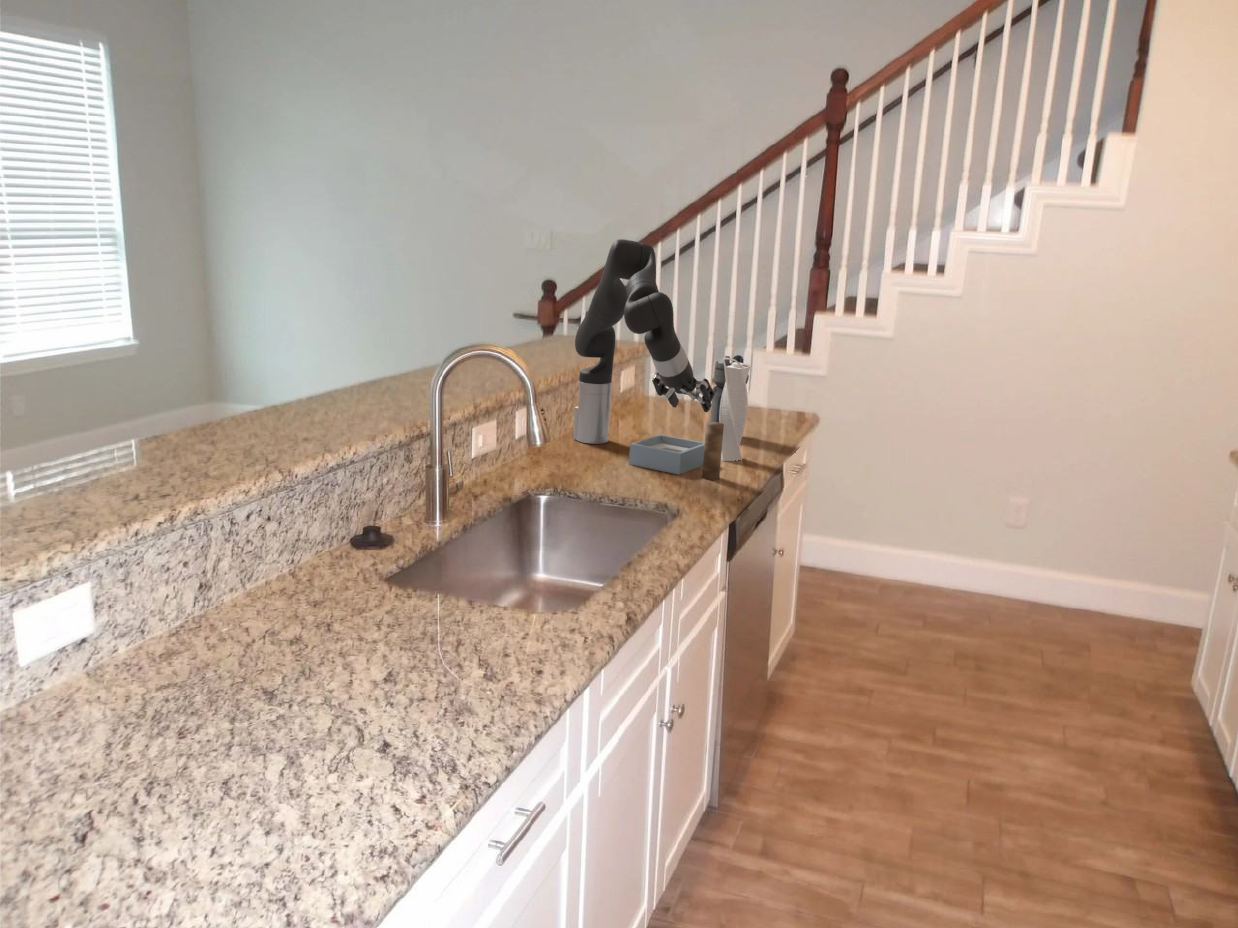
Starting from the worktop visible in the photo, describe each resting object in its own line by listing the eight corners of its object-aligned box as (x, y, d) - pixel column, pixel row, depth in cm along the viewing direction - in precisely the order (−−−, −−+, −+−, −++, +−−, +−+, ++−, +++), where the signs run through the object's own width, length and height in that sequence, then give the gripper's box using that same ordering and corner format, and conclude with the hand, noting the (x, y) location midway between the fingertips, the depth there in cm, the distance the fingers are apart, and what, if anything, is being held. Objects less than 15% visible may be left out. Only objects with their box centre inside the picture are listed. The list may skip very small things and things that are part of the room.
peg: (698, 477, 246) (703, 423, 243) (706, 474, 250) (711, 421, 246) (714, 481, 244) (719, 426, 240) (722, 477, 247) (726, 423, 244)
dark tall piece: (749, 435, 299) (757, 354, 293) (734, 442, 288) (742, 358, 282) (718, 430, 304) (725, 350, 298) (703, 437, 292) (709, 354, 286)
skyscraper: (719, 462, 263) (728, 359, 256) (710, 455, 270) (718, 355, 263) (747, 462, 265) (756, 360, 258) (736, 455, 272) (745, 355, 265)
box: (628, 464, 255) (630, 443, 254) (658, 453, 269) (660, 434, 267) (679, 474, 248) (680, 453, 247) (707, 463, 261) (708, 443, 260)
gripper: (705, 353, 218) (724, 398, 230) (651, 347, 225) (671, 391, 238) (693, 379, 215) (712, 423, 227) (638, 372, 222) (659, 415, 234)
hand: (691, 406), depth 232 cm, fingers open, 8 cm apart
